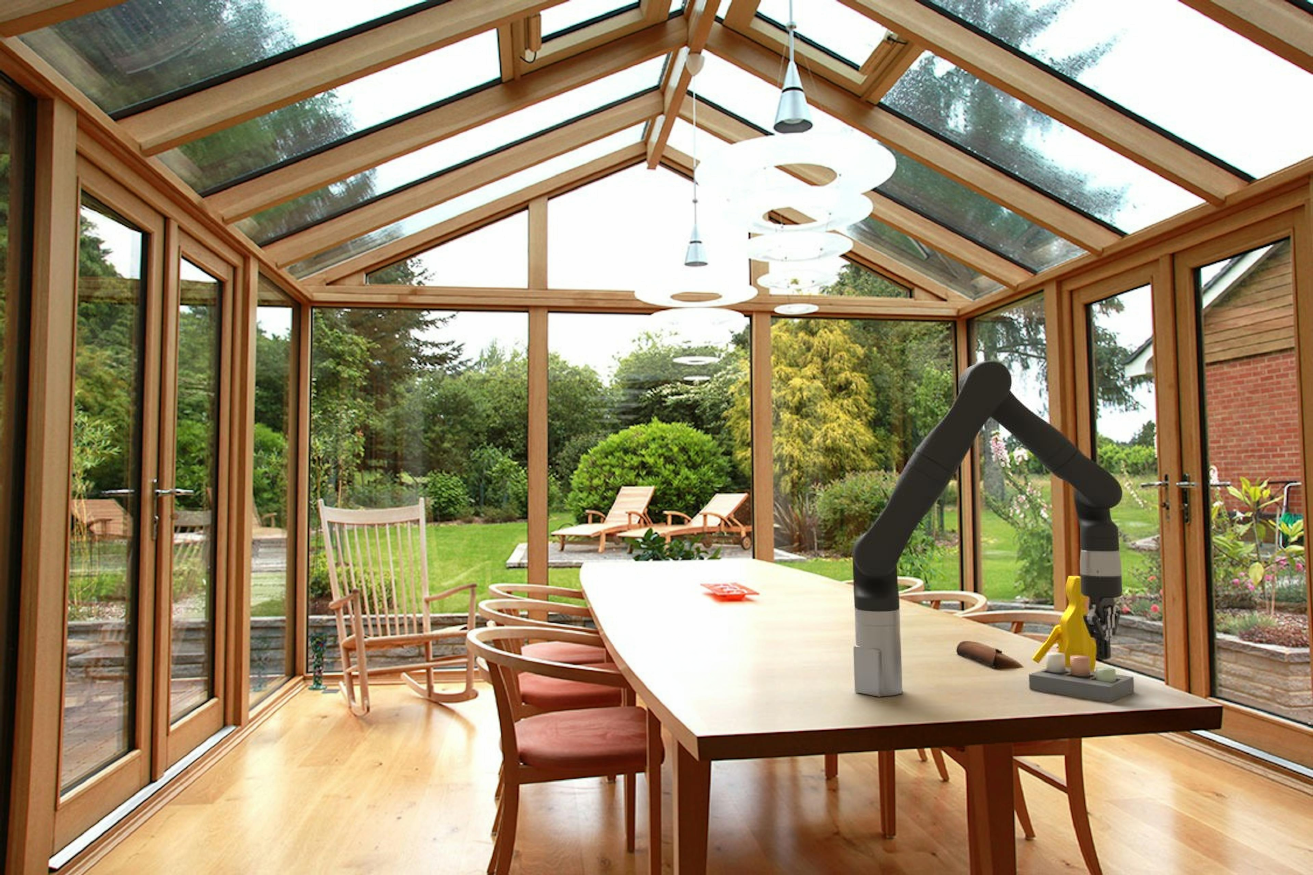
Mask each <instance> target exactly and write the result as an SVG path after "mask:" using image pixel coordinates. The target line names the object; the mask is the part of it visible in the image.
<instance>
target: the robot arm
mask: <svg viewBox="0 0 1313 875" xmlns="http://www.w3.org/2000/svg"><path fill="white" fill-rule="evenodd" d="M1012 380H1013V379H1012V375H1011V372H1010V370H1009V368H1008V367H1007V366H1006V365H1004V364H1003V363H1002V362H999V361H995V360H983V361H980V362H977V363H974V364H972V365H971V366H969V367H967V368H966V369H964V371H962V373H961V375H960V377H959V380H958V390H959V393H958V394H957V396H956V398H955V400H954V402H953V403H952V406H951V407H950V409H949V410H948V412H947V413H946V415H945V416H944V417H943V418H941V420H940V421H939V422H938V423H937V425H936V426H934V428H932V430H931V431H930V432H928V434H927V435H926V437H925V438H924V439H923V440H922V441H921V443H920V444H919V445H918V446H917V448H916V449H915V450H914V452H913V454H912V455H911V457H910V458H909V460H908V461H907V463H906V465H905V466H904V468H903V470H902V472H901V473H900V475H899V477H898V478H897V481H896V483H895V486H894V488H893V490H892V493H891V494H890V497H889V499H888V502H887V503H886V506H885V507H884V509H883V510H882V512H881V513H880V515H879V516H878V518H877V519H876V520H875V521H874V523H873V524H872V525H871V526H870V528H869V529H868V530H867V532H864V533H862V534H861V535H859V537H858V538H857V539H855V542H854V543H853V546H852V554H851V555H852V577H853V578H852V579H853V580H852V581H853V584H852V585H853V599H854V600H853V602H854V604H853V605H854V629H855V630H854V631H855V632H854V633H855V635H854V636H855V645H854V646H853V673H854V674H853V675H854V693H858V694H864V695H867V696H868V695H869V696H874V697H884V696H885V697H886V696H887V697H888V696H896V695H901V694H902V693H903V670H902V667H903V666H902V642H901V640H902V639H901V613H900V612H901V611H900V610H901V609H900V606H901V605H900V594H899V583H898V581H899V580H898V563H899V561H900V558H901V556H902V554H903V552H904V550H905V548H906V546H907V544H908V542H909V540H910V538H911V537H912V535H913V533H914V531H915V530H916V528H918V527H917V526H918V525H919V524H920V523H921V521H922V520H923V519H924V518H925V516H926V515H927V514H928V513H929V511H930V510H931V509H932V508H933V506H935V504H936V502H937V501H938V499H939V498H940V497H941V496H942V494H943V493H944V491H945V490H946V488H947V487H948V486H949V484H950V483H951V481H952V479H953V478H954V476H955V475H956V473H957V472H958V469H959V467H960V466H961V465H962V462H964V459H965V458H966V456H967V454H968V452H969V450H970V448H972V446H973V443H974V442H975V439H976V438H977V436H978V434H979V432H980V431H981V430H982V428H983V427H984V425H985V424H986V423H987V421H988V420H989V419H990V418H992V419H993V420H994V421H995V422H996V423H998V424H999V425H1000V426H1001V427H1002V428H1004V429H1005V430H1006V431H1007V432H1009V433H1010V434H1011V435H1012V436H1013V437H1014V438H1015V439H1016V440H1017V441H1018V442H1019V443H1020V444H1022V445H1023V446H1024V447H1025V449H1026V450H1028V451H1029V453H1031V454H1032V455H1033V456H1034V457H1035V458H1036V459H1037V461H1039V462H1040V464H1042V465H1043V466H1044V467H1045V468H1047V469H1048V471H1049V472H1050V473H1052V474H1053V475H1054V476H1055V477H1057V478H1058V479H1059V480H1062V481H1065V482H1067V483H1068V484H1070V485H1071V486H1072V487H1073V488H1074V489H1073V490H1074V491H1073V502H1074V507H1075V512H1076V516H1077V520H1078V524H1079V528H1080V530H1079V531H1080V533H1079V534H1080V535H1079V536H1080V537H1079V538H1080V557H1079V576H1080V581H1081V594H1082V595H1084V596H1086V597H1087V598H1089V600H1088V601H1089V602H1088V607H1087V610H1088V611H1087V613H1088V615H1087V614H1084V615H1083V619H1084V622H1085V624H1086V627H1087V629H1088V632H1089V634H1090V637H1091V638H1092V639H1093V640H1094V641H1095V643H1096V654H1097V655H1096V654H1095V655H1096V658H1097V659H1099V660H1101V659H1103V660H1109V659H1111V657H1112V656H1111V655H1112V654H1111V653H1112V652H1111V649H1112V648H1111V641H1112V640H1113V636H1114V637H1115V636H1116V634H1117V629H1118V625H1119V621H1120V617H1121V614H1122V611H1121V610H1120V609H1117V608H1116V601H1115V598H1116V599H1117V598H1120V597H1122V596H1123V577H1122V575H1123V574H1122V572H1123V571H1122V560H1121V553H1120V538H1119V537H1120V536H1119V529H1118V526H1117V524H1116V523H1115V522H1114V521H1113V520H1112V517H1111V516H1112V515H1111V510H1110V509H1112V508H1113V509H1114V507H1116V506H1117V505H1119V504H1120V503H1121V501H1122V499H1123V488H1122V486H1121V484H1120V482H1119V480H1117V478H1116V477H1115V476H1114V475H1112V473H1110V472H1109V471H1108V470H1107V469H1105V468H1104V467H1102V466H1101V465H1100V464H1098V463H1097V462H1096V461H1093V459H1091V458H1089V457H1088V456H1087V455H1085V454H1084V453H1083V451H1081V449H1079V448H1078V447H1077V446H1076V445H1075V444H1074V443H1073V442H1072V441H1071V440H1070V439H1068V437H1067V436H1065V435H1064V434H1063V433H1062V432H1061V431H1060V430H1058V429H1057V428H1056V427H1055V426H1053V425H1052V424H1050V423H1049V422H1047V421H1046V420H1045V419H1043V418H1042V417H1040V416H1039V415H1038V414H1036V413H1035V412H1033V411H1032V410H1030V409H1029V408H1028V407H1027V406H1026V405H1024V403H1022V402H1021V400H1020V399H1019V398H1017V397H1016V396H1015V395H1014V394H1013V392H1012V391H1011V388H1012V384H1013V383H1012V382H1013V381H1012Z"/></svg>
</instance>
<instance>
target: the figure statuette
mask: <svg viewBox="0 0 1313 875" xmlns="http://www.w3.org/2000/svg"><path fill="white" fill-rule="evenodd" d="M1065 594H1066V597H1067V600H1068V605H1067V608H1066V610H1065V611H1064V613H1063V614H1062V615H1061V618H1060V621H1059V624H1058V625H1055V626H1054V627H1053V629H1052V631H1051V633H1050V634H1049V636H1048V638H1047V640H1046V641H1044V643H1043V644H1042V645H1041V646H1040V648H1039V649H1038V650H1037V651H1036V653H1035V654H1034V655H1033V657H1032V658H1031V660H1032V661H1033V662H1035V663H1038V664H1040V662H1041V661H1042V660H1043V658H1044V657H1046V653H1048V652H1049V651H1050V650H1051V649H1052V647H1054V645H1055V643H1056V644H1057V645H1058V646H1057V647H1058V649H1057V652H1059V653H1064V654H1065V667H1068V668H1071V666H1070V656H1073V655H1081V656H1087V657H1089V660H1090V671H1095V670H1096V669H1095V668H1096V662H1097V661H1096V658H1097V654H1096V641H1095V639H1094V638H1092V637H1090V634H1089V632H1088V629H1087V627H1086V624H1085V622H1084V619H1083V615H1084V614H1087V615H1088V614H1089V613H1088V611H1087V609H1086V608H1085V605H1084V603H1085V602H1086V598H1087V596H1084V595H1082V594H1081V581H1080V575H1079V576H1078V575H1068V578H1067V580H1066V584H1065ZM1100 660H1104V659H1100Z"/></svg>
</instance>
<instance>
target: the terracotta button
mask: <svg viewBox="0 0 1313 875" xmlns="http://www.w3.org/2000/svg"><path fill="white" fill-rule="evenodd" d="M1070 666H1071V674H1072V675H1076V676H1090V660H1089V657H1087V656H1081V655H1073V656H1070Z"/></svg>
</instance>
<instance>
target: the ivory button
mask: <svg viewBox="0 0 1313 875" xmlns="http://www.w3.org/2000/svg"><path fill="white" fill-rule="evenodd" d="M1045 657H1046V658H1045V660H1046V668H1047V671H1050V672H1065V671H1066V669H1065V654H1064V653H1059V652H1058V651H1057V652H1056V651H1050V652H1049V651H1048V652H1047V653H1046V655H1045Z"/></svg>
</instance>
